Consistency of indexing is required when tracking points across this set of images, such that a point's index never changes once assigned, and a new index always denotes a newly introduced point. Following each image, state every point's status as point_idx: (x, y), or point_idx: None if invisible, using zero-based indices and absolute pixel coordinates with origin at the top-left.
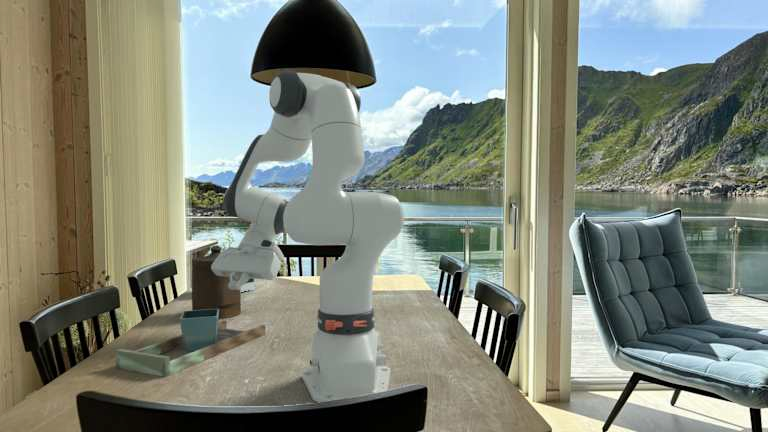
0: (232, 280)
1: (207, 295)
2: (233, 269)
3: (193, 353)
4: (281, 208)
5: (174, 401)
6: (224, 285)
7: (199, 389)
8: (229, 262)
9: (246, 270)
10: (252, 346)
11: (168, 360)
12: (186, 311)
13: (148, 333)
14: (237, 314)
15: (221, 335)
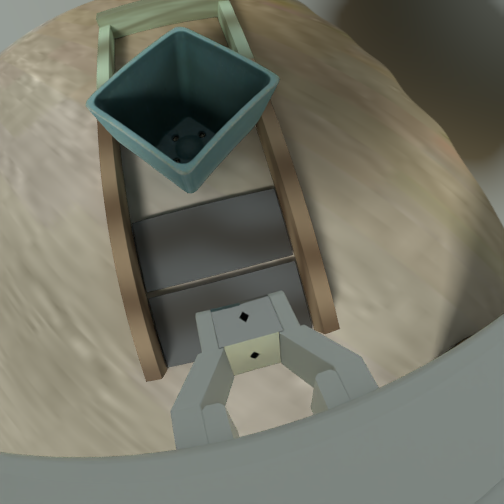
0: (285, 339)
1: None
2: (363, 407)
3: (99, 70)
4: None
5: (34, 30)
6: None
7: (25, 58)
8: (492, 427)
9: (163, 462)
10: (82, 255)
11: (97, 22)
12: (268, 81)
13: (432, 167)
14: None
15: (259, 270)
